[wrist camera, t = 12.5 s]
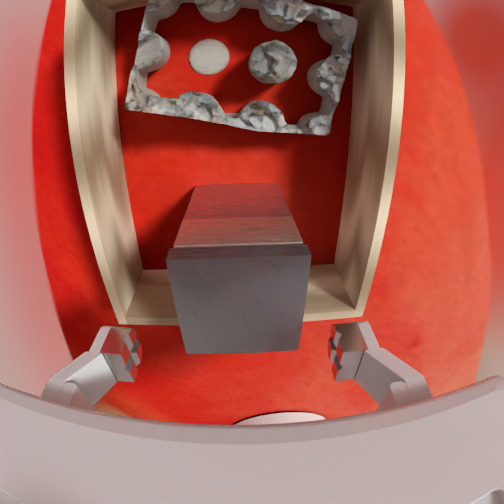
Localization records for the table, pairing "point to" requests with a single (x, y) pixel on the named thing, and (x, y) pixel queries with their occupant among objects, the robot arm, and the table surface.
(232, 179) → the table surface
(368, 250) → the tote
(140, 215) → the table surface
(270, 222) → the tin
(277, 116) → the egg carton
